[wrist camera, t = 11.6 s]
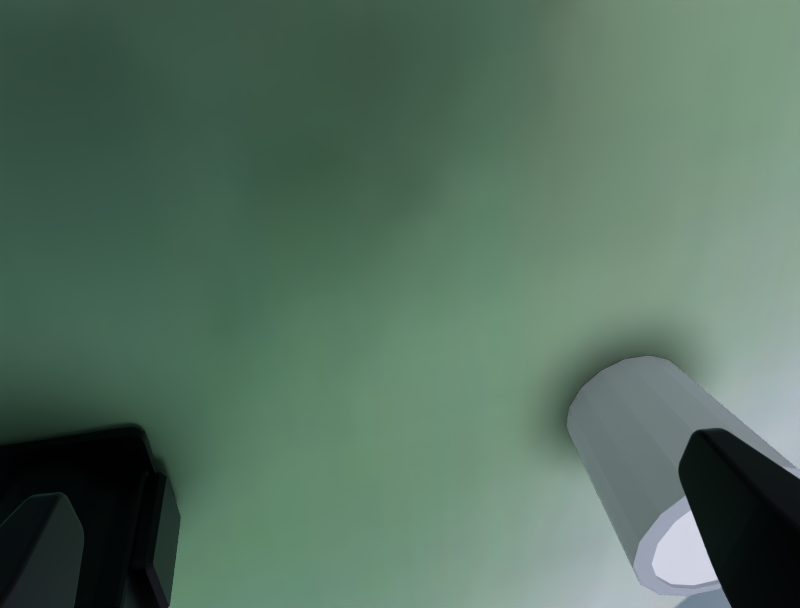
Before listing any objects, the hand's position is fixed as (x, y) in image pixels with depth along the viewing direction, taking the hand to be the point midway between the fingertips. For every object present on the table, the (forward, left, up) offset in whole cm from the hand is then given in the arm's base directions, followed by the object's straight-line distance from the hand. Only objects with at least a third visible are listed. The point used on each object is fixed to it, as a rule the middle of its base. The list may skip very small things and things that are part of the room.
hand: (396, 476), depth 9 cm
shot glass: (+12, -12, -12) cm, 21 cm away
